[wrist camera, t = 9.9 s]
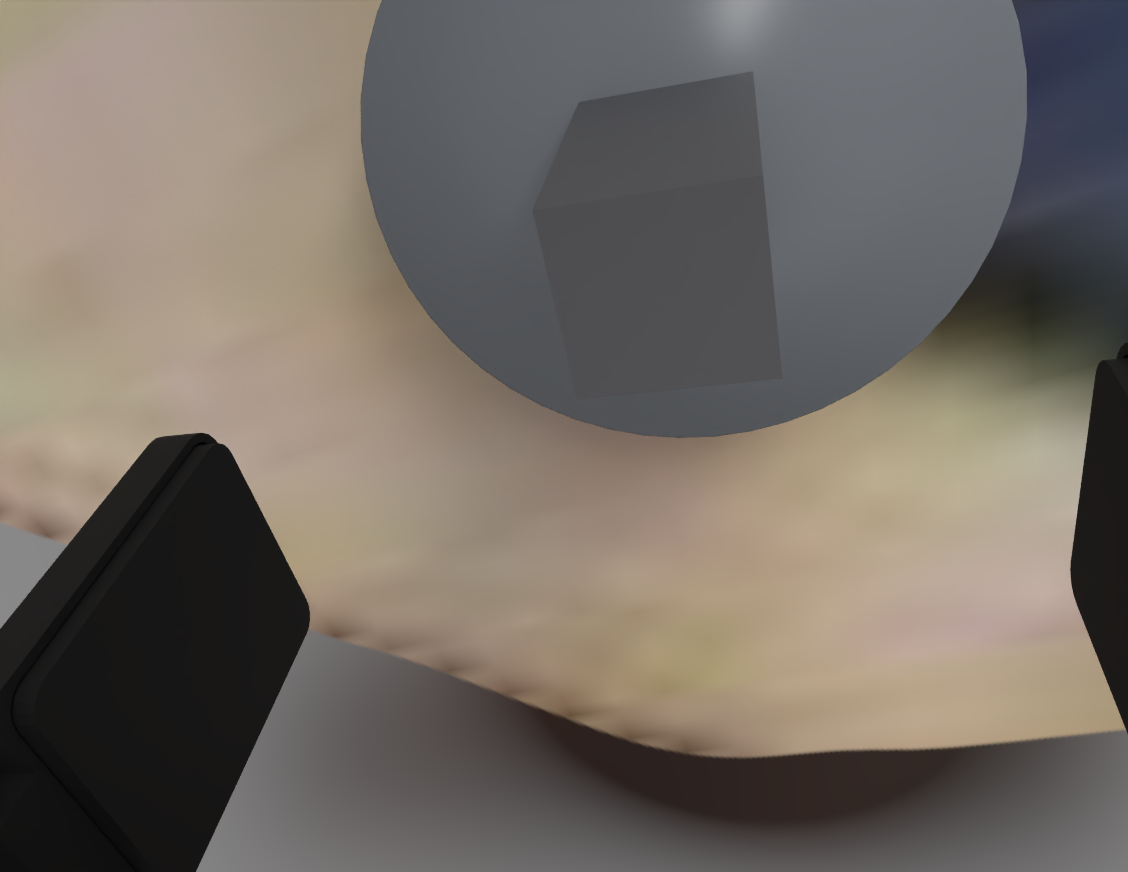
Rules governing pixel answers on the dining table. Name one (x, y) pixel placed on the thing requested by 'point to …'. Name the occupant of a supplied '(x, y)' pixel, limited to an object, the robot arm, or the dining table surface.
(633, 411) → the lid
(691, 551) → the dining table surface
